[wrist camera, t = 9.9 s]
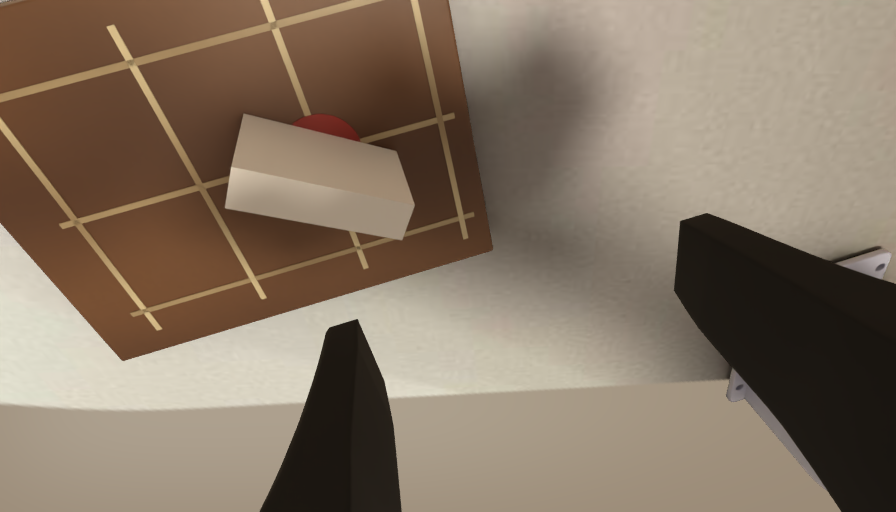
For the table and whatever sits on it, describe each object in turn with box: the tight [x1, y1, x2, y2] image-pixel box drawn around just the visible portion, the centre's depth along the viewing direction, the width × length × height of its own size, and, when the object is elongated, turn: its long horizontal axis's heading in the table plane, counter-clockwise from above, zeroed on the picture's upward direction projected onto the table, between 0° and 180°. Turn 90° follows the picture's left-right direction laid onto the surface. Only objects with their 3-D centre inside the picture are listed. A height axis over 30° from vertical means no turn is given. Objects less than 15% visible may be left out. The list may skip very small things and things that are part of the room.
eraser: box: [225, 114, 415, 240], centre depth 16 cm, size 1×5×4 cm, turn 70°
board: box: [0, 0, 493, 361], centre depth 17 cm, size 12×15×1 cm
